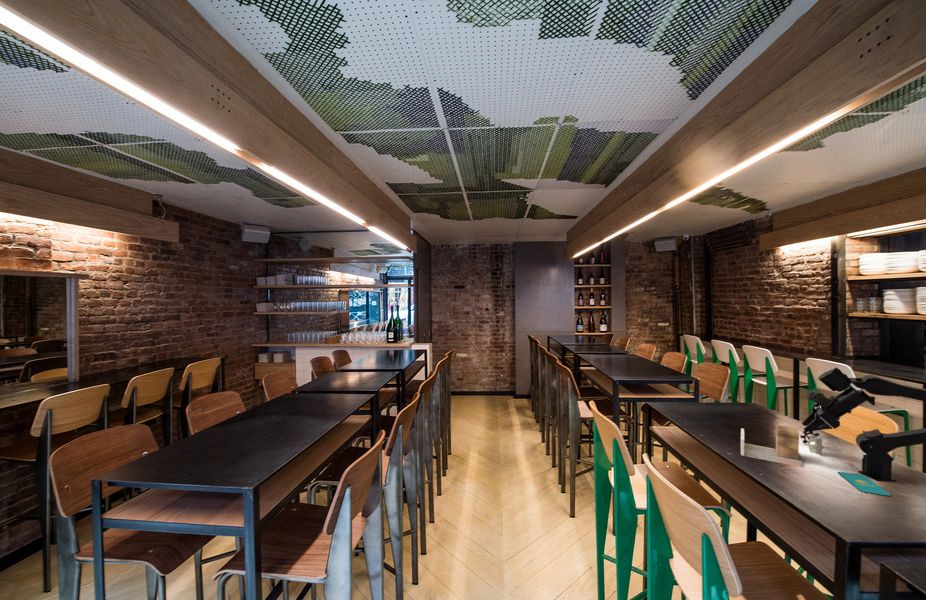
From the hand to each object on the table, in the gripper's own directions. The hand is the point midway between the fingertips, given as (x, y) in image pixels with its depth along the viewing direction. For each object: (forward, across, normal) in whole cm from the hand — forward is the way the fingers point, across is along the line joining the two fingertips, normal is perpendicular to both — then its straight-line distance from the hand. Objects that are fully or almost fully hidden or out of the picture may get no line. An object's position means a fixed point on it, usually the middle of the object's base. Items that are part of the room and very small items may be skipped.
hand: (803, 427), depth 143 cm
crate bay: (+16, 0, +2) cm, 16 cm away
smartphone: (0, +9, +20) cm, 22 cm away
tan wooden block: (+12, 0, +5) cm, 13 cm away
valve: (+6, -18, +12) cm, 22 cm away
